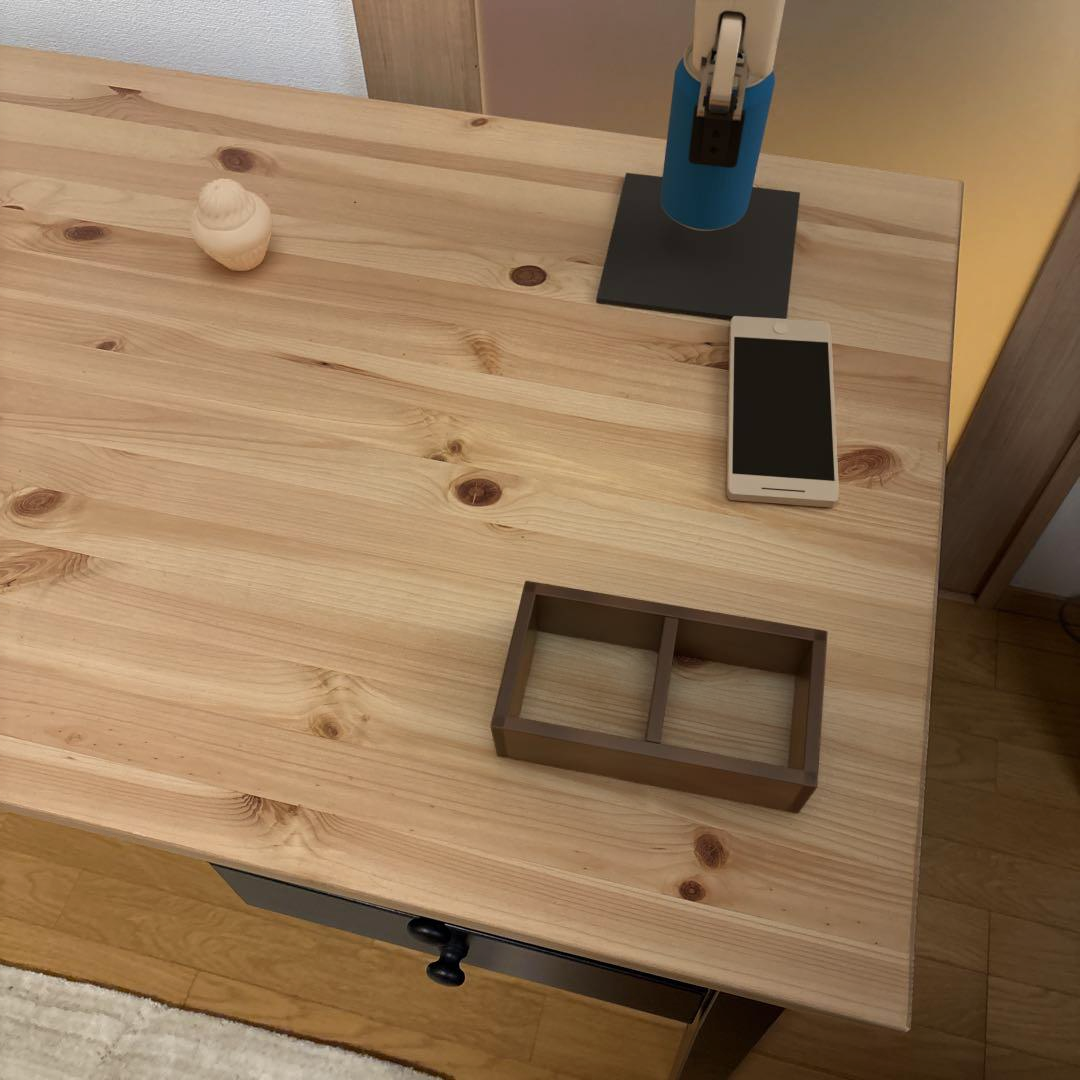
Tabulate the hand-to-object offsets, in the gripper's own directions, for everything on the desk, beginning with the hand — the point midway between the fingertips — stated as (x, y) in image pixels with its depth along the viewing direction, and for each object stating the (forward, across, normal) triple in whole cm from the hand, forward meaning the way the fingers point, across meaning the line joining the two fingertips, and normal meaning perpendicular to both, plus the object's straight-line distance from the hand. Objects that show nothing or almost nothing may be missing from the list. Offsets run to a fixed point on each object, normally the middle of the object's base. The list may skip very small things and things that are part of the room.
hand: (718, 125), depth 68 cm
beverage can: (+7, 0, 0) cm, 7 cm away
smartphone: (+11, -15, -7) cm, 20 cm away
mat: (+11, 0, 0) cm, 11 cm away
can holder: (+11, -38, -2) cm, 40 cm away
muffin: (+11, -7, +35) cm, 37 cm away
